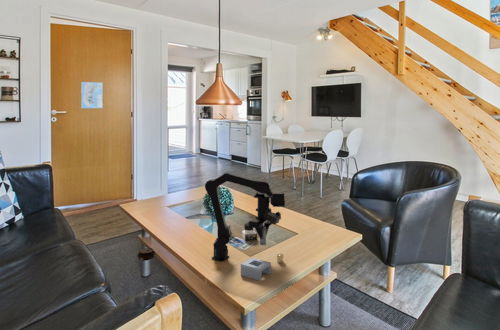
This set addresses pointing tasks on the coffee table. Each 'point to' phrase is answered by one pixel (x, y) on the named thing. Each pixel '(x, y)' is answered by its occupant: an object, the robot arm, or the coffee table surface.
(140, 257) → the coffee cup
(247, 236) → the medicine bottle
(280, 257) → the short pin
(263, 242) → the long pin
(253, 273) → the frame
